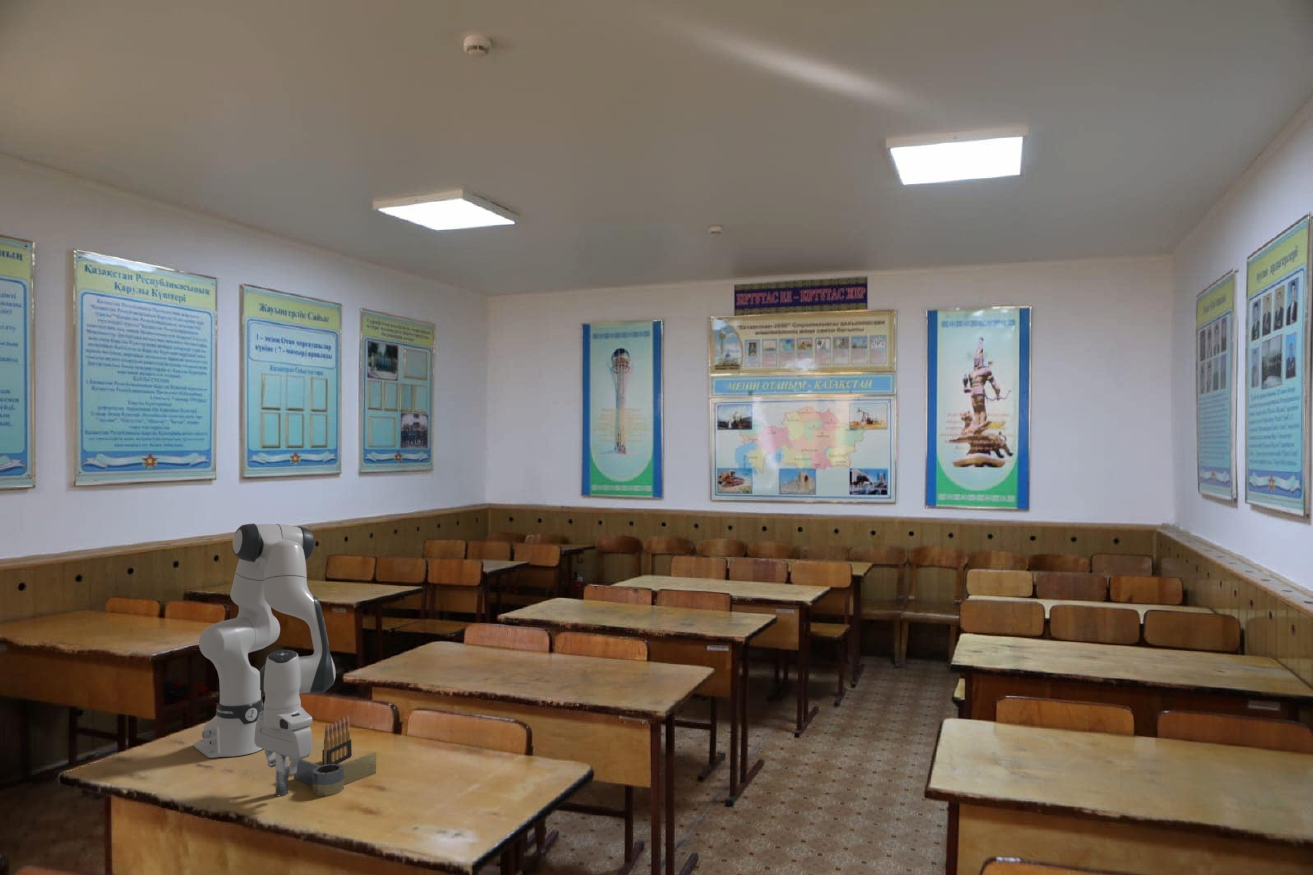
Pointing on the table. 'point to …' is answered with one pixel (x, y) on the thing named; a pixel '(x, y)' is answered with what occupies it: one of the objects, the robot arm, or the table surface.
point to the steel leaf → (318, 773)
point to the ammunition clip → (337, 742)
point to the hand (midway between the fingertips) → (282, 769)
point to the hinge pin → (281, 774)
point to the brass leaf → (349, 775)
